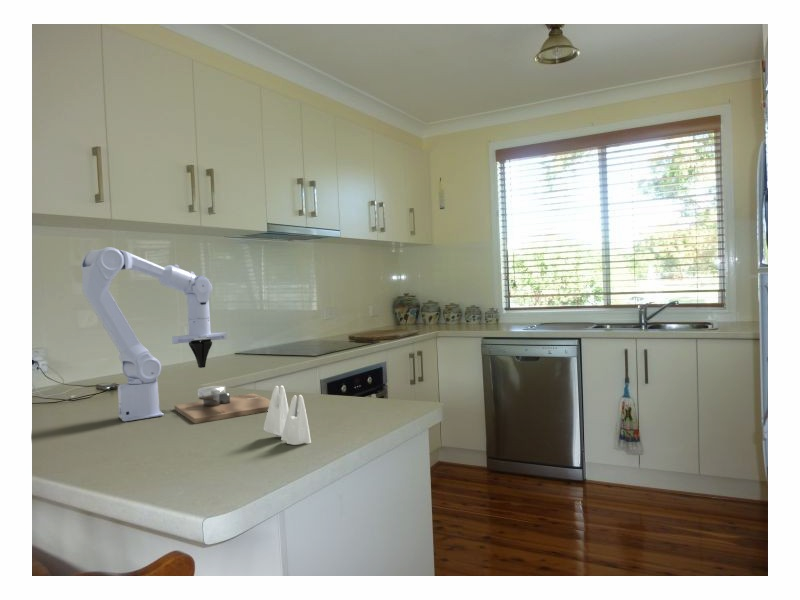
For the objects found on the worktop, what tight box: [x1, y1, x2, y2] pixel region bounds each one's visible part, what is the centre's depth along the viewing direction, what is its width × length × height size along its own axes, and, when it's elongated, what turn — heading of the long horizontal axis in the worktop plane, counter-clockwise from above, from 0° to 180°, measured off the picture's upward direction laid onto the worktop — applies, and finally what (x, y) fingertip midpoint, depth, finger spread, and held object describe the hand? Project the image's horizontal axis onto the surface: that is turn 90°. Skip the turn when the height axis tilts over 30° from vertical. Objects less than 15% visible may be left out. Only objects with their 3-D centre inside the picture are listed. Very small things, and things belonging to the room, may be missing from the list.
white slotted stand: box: [263, 385, 312, 446], centre depth 115 cm, size 12×4×11 cm, turn 45°
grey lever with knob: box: [197, 385, 231, 404], centre depth 146 cm, size 16×7×2 cm, turn 34°
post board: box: [173, 392, 271, 425], centre depth 149 cm, size 22×22×3 cm
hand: (201, 367), depth 158 cm, fingers closed
